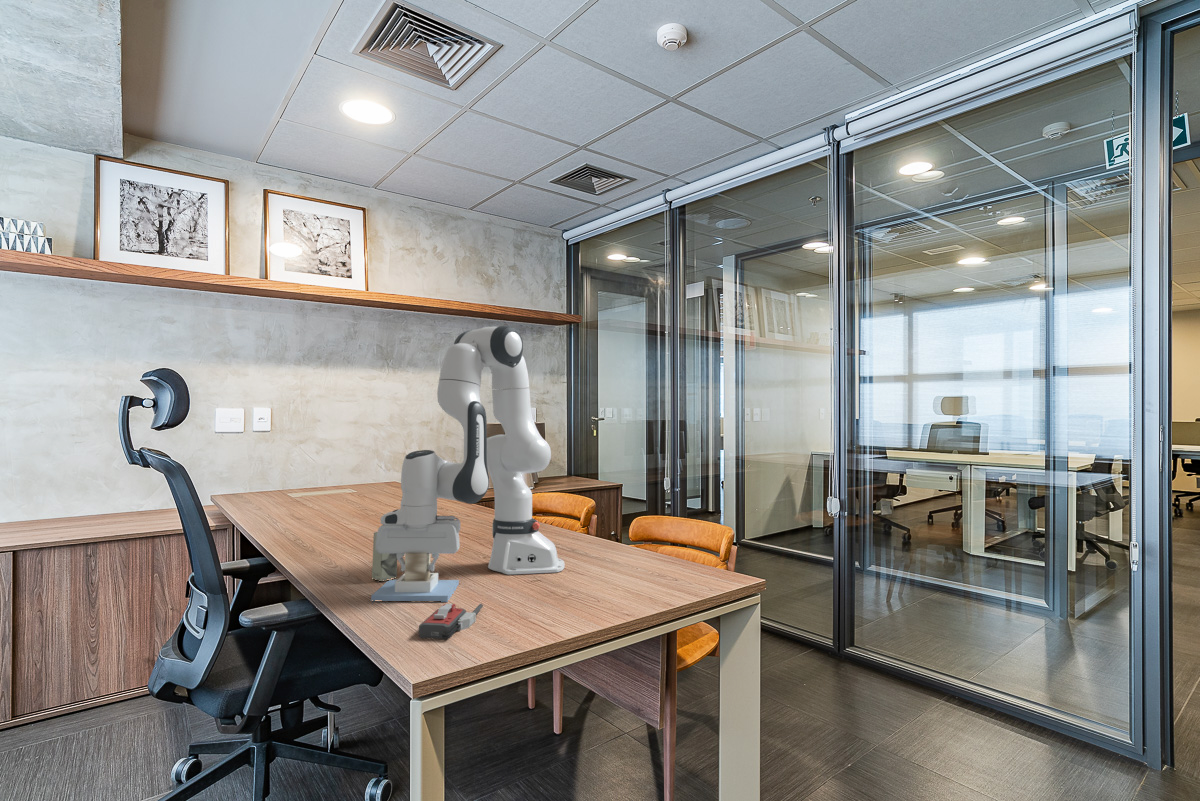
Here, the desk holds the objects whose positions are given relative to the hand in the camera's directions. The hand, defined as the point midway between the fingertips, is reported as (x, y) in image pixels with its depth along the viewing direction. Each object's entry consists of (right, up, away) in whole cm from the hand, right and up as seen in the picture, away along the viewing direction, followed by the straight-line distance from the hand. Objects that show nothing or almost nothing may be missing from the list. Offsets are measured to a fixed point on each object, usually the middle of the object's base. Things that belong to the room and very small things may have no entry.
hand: (417, 570), depth 151 cm
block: (0, -3, 0) cm, 3 cm away
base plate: (0, -6, 0) cm, 6 cm away
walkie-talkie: (+14, -6, -22) cm, 27 cm away
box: (-13, -6, +12) cm, 19 cm away
